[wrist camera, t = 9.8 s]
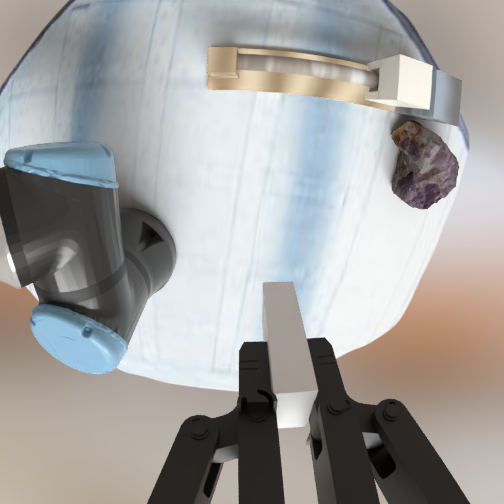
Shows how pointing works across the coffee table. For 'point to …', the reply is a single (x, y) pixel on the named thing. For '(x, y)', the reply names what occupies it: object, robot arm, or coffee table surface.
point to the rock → (422, 166)
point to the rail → (321, 80)
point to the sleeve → (401, 82)
